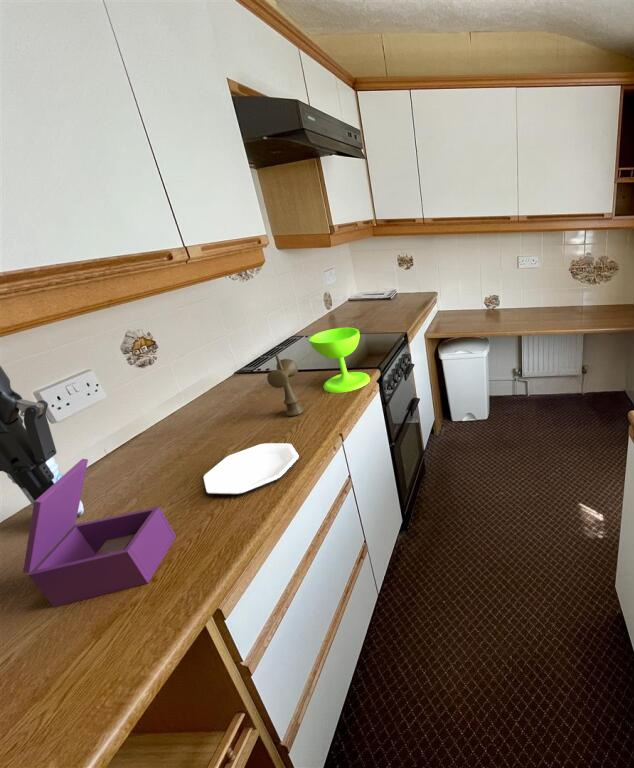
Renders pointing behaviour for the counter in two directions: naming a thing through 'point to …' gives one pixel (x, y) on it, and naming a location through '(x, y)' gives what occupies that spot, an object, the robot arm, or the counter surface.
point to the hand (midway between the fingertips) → (49, 499)
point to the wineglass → (340, 357)
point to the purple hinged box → (104, 557)
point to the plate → (250, 468)
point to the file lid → (54, 514)
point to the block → (115, 545)
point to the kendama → (286, 384)
